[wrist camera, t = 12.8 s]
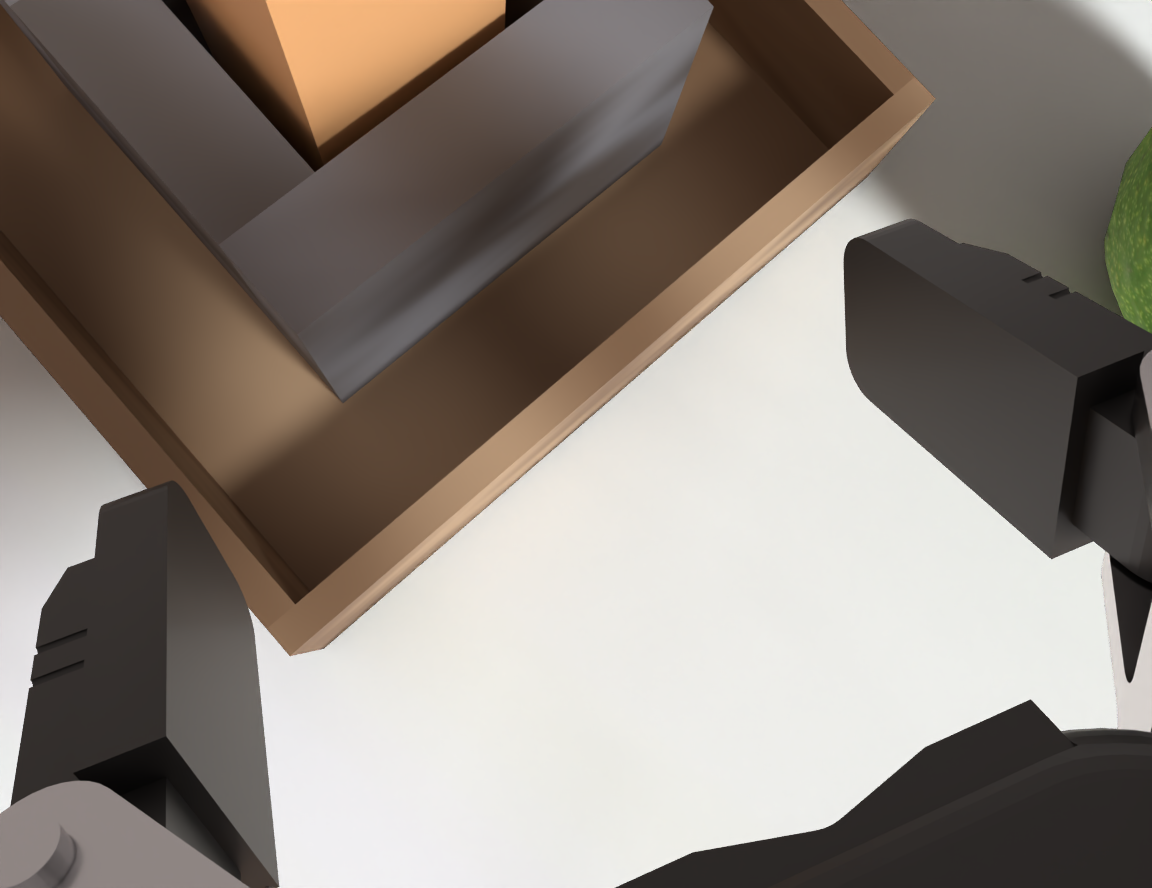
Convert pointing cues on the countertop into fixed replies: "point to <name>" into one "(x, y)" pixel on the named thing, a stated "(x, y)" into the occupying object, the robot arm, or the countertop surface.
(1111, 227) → the avocado
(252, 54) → the plug
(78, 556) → the countertop surface
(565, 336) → the walled tray
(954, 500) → the countertop surface
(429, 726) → the countertop surface
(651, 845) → the countertop surface
